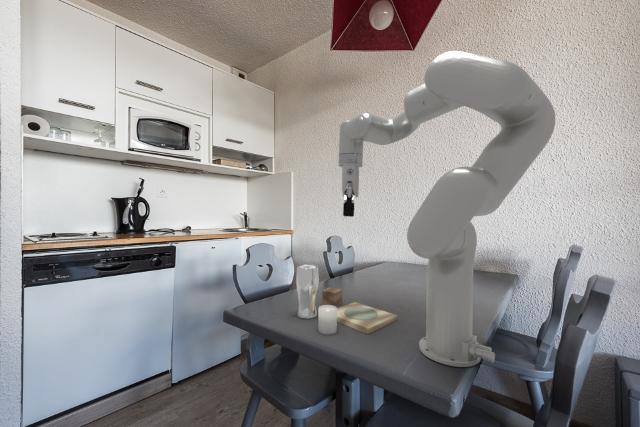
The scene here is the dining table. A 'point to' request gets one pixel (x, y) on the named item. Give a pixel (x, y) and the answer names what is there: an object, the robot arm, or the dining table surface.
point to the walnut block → (332, 296)
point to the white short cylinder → (327, 319)
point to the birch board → (364, 317)
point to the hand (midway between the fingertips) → (348, 215)
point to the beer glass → (307, 290)
